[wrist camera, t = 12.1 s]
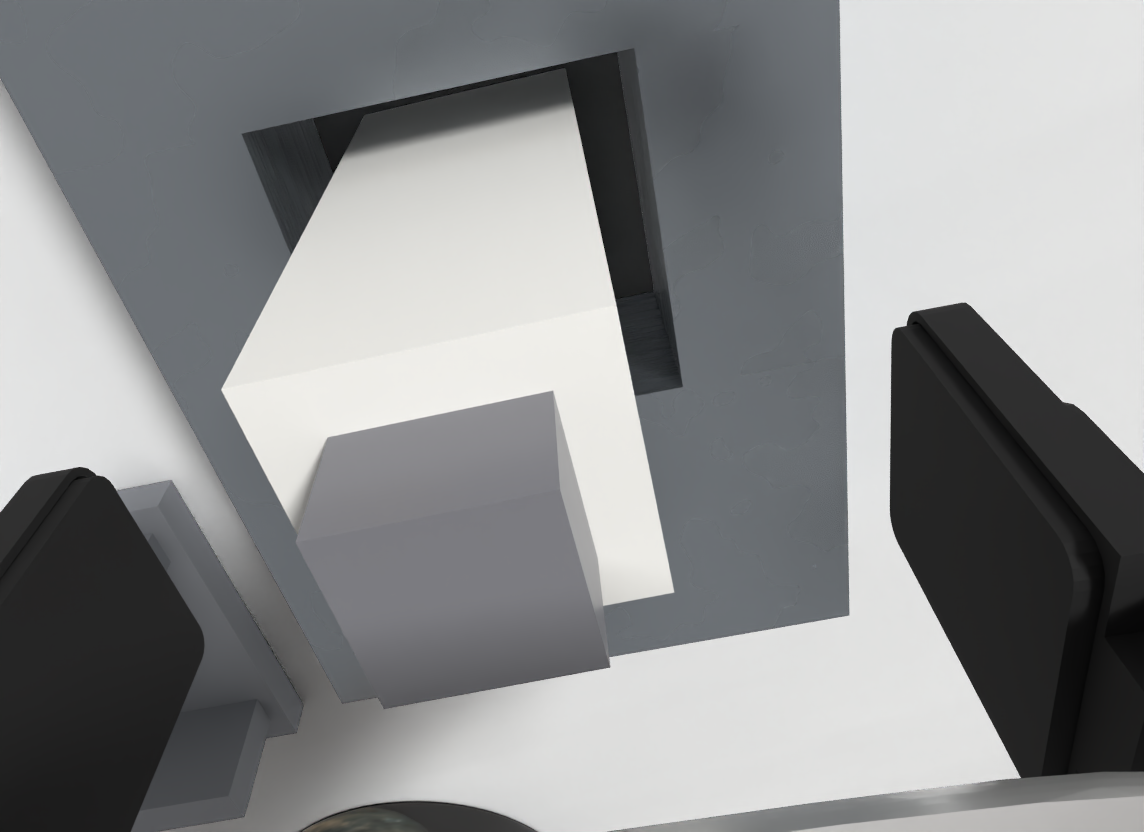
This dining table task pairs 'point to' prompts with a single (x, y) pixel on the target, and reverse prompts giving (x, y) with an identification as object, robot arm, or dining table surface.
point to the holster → (210, 679)
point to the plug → (457, 400)
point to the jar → (418, 819)
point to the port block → (648, 321)
